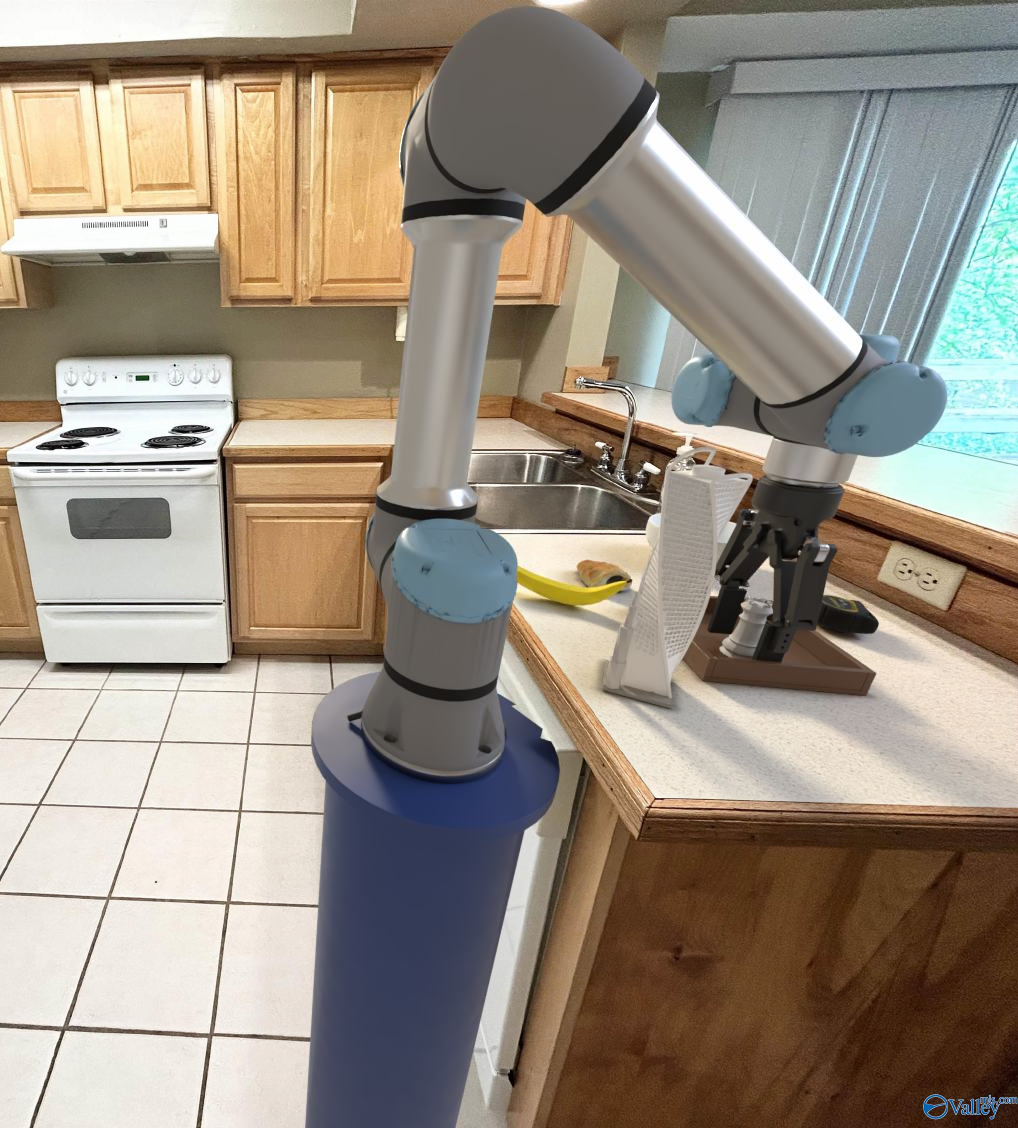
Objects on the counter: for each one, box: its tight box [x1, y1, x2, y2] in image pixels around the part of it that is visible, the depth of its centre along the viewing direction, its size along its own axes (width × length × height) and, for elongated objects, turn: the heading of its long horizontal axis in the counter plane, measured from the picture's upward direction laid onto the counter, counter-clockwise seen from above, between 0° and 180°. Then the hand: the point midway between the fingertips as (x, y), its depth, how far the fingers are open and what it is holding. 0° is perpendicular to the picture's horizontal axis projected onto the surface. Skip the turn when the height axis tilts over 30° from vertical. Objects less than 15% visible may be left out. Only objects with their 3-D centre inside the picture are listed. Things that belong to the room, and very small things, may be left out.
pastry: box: [576, 559, 633, 592], centre depth 98 cm, size 9×7×4 cm
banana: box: [517, 565, 633, 607], centre depth 91 cm, size 3×19×6 cm, turn 52°
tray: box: [682, 595, 877, 696], centre depth 79 cm, size 18×20×3 cm
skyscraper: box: [601, 446, 754, 709], centre depth 66 cm, size 8×8×28 cm
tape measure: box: [817, 594, 880, 635], centre depth 84 cm, size 7×7×4 cm
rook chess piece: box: [720, 596, 773, 659], centre depth 74 cm, size 4×4×8 cm
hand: (739, 650), depth 76 cm, fingers open, 9 cm apart
